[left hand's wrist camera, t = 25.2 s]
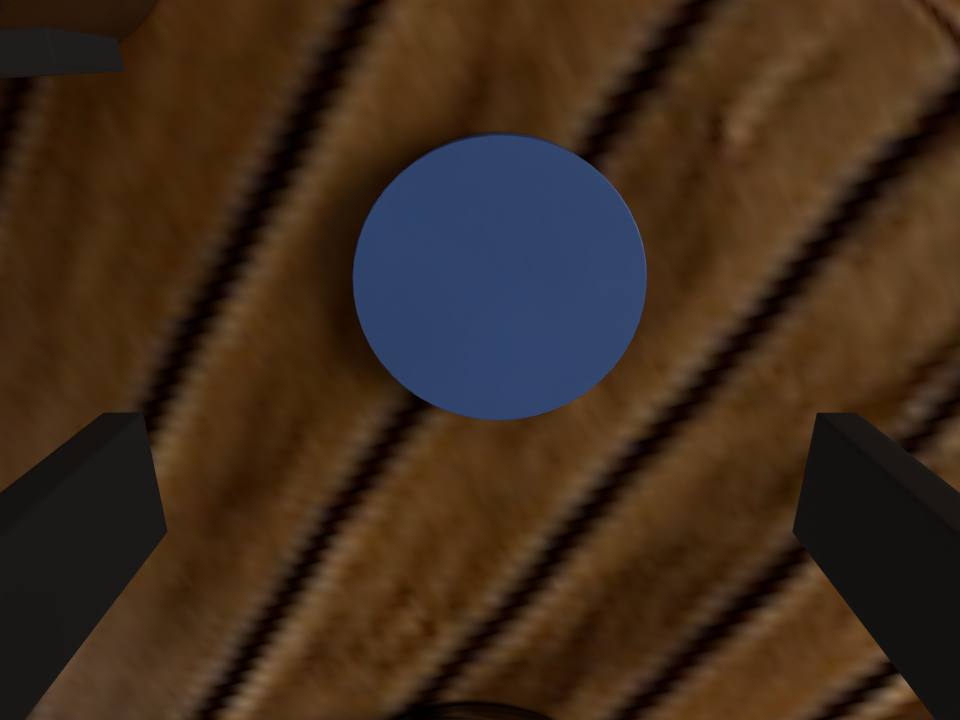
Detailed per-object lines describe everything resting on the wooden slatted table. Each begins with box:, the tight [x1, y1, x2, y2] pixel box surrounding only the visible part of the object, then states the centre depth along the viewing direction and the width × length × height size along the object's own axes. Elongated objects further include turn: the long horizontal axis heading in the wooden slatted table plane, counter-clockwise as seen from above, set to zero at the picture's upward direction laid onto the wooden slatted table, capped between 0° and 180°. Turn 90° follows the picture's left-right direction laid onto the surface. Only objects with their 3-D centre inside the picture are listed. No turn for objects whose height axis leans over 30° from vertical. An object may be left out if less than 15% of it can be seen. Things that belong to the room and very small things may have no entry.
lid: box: [353, 132, 647, 420], centre depth 22 cm, size 10×10×2 cm
